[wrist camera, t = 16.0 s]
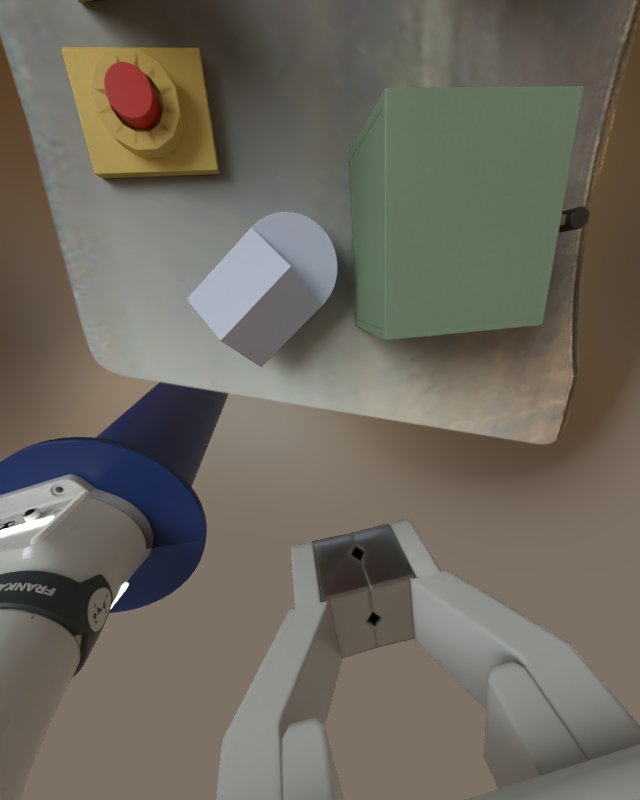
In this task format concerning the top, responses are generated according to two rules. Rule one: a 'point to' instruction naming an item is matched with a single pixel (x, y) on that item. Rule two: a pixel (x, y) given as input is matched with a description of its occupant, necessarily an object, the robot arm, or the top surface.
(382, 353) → the top surface
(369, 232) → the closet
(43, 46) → the top surface
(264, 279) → the wedge on round base
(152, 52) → the button block
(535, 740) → the robot arm
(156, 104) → the button
